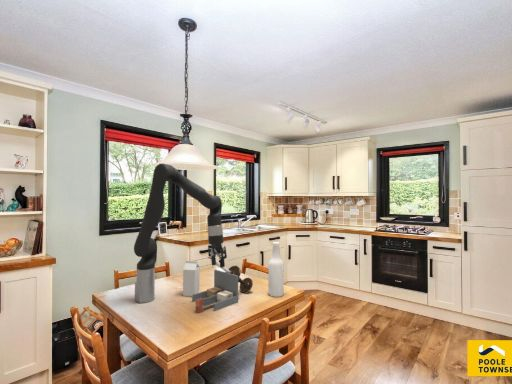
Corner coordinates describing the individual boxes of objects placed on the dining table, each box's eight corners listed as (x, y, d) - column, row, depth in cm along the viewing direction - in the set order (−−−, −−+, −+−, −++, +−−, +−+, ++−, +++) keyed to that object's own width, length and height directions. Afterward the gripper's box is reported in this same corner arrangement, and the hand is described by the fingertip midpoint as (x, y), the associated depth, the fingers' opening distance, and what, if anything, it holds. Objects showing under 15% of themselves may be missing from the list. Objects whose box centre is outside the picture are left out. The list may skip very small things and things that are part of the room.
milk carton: (194, 296, 156) (194, 262, 157) (182, 296, 158) (183, 262, 158) (199, 292, 163) (199, 260, 164) (188, 291, 165) (188, 259, 165)
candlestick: (238, 296, 164) (198, 268, 144) (239, 279, 172) (202, 251, 153) (253, 291, 160) (215, 262, 140) (254, 274, 168) (217, 244, 148)
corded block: (200, 314, 133) (200, 301, 133) (193, 310, 137) (193, 298, 137) (232, 302, 149) (233, 291, 149) (225, 299, 153) (225, 288, 153)
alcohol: (275, 298, 155) (275, 244, 155) (265, 293, 162) (265, 242, 162) (286, 295, 160) (286, 242, 160) (276, 290, 167) (276, 240, 168)
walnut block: (213, 301, 150) (213, 292, 150) (206, 298, 154) (206, 289, 154) (221, 298, 155) (221, 289, 155) (214, 295, 159) (215, 286, 159)
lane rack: (214, 311, 137) (215, 282, 137) (192, 301, 150) (192, 275, 150) (238, 302, 149) (238, 275, 149) (215, 293, 162) (215, 269, 162)
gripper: (202, 234, 145) (204, 266, 145) (216, 235, 134) (218, 269, 134) (214, 232, 150) (217, 263, 149) (229, 233, 139) (232, 266, 138)
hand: (218, 266), depth 141 cm, fingers open, 8 cm apart
